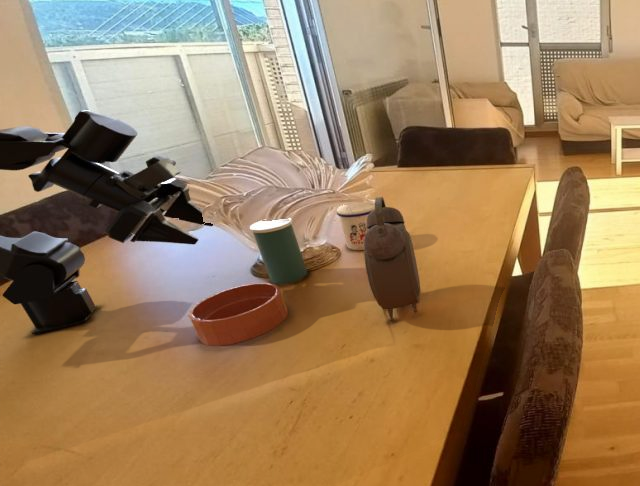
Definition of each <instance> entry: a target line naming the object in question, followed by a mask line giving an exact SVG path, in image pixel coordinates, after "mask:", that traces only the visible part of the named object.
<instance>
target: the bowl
mask: <svg viewBox="0 0 640 486" xmlns="http://www.w3.org/2000/svg"><path fill="white" fill-rule="evenodd" d="M288 310H289V309H288V307H287V305H286V302H285V299H284V296H283V293H282V290H281V287H279V286H278V284H273V283H271V282H254V283H246V284H242V285H237V286H233V287H230V288H228V289H224V290H222V291H219V292H216V293H214V294H212V295H209V296H207V297H205V298H204V299H202V300H200V301H198V302H197V303H195V304H194V306H193V307H192V308H190V310H189V312H188V315H187V316H188V318H189V320H190V321H189V322H190V324H191V325H192V327H193V329H194V332H195V334H196V336H197V338H198V340H199V342H200V343H201V344H203V345H207V346H209V347H222V346H229V345H234V344H239V343H242V342H245V341H249V340H253V339H254V338H258V337H259V336H262V335H264V334H267V333H268V332H270V331H271V330H273V329H275V328H276V327H277V326H279V325H280V324H281V323H282V322H284V321H285V320H286V318H287V317H288Z"/></svg>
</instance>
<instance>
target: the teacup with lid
mask: <svg viewBox="0 0 640 486" xmlns="http://www.w3.org/2000/svg"><path fill="white" fill-rule="evenodd" d="M367 199H368V202H367V203H363V204H358V205H344V204H342V205H343V206H342V205H339V207H337V209H336V215H337V216H338V218H339V222H340V226H341V229H342V233H343V236H344V241H345V243H346V247H347V248H348V249H350V250H353V251H364V249H365V247H364V237H365V234H366V233H367V230H368V229H367V216H368V214H369V213H370V212H371V211H373V210H374V209H375V199H369V198H367Z"/></svg>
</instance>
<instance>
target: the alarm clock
mask: <svg viewBox="0 0 640 486" xmlns="http://www.w3.org/2000/svg"><path fill="white" fill-rule="evenodd" d="M374 200H375V209H374V210H373V211H371V212H370V213H369V214H368V216H367V229H368V230H367V233H366V234H365V237H364V247H365V249H364V250H363V252H364V253H363V255H364V264H365V270H366V275H367V281H368V284H369V288H370V291H371V293H372V295H373V298H374V299H375V301H376V303H377V305H378V306H379V307H381V309H382V310H383V311H384V310H385V311H387V315H388V316H389V322H391V323H393V322H394V321H395V319H394V309H402V308H406V307H409V306H411V307H412V309H413V313H415V314H416V313H418V312H419V310H418V309H417V304H418V303H420V294H421V282H420V275H419V270H418V264H417V259H416V253H415V249H414V245H413V242H412V237H411V234H410V232H409V231H408V230H407V228H406V225H405V219H404V216H403V214H402V213H401V211H400V210H399V209H397V208H395V207H392V206H386V203H385V198H384V197H383V196H378V197H375V199H374Z"/></svg>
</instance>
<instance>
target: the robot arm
mask: <svg viewBox="0 0 640 486" xmlns="http://www.w3.org/2000/svg"><path fill="white" fill-rule="evenodd" d="M137 136H138V131H137V130H136V129H135V128H133V127H132V126H131V125H130V124H128V123H125V122H124V121H122V120H120V119H115V118H113V117H110V116H107V115H104V114H99V113H95V112H94V111H91V110H89V109H84V110H80V111H78V113H77V114H76V115H75V117H74V120H73V122H72V124H71V125H70V126H69V127H68V129H67V130H66V131H65V132H44V131H42V130H41V129H40V128H36V127H33V126H17V127H11V128H9V127H8V128H2V129H0V171H14V172H15V171H23V170H26V169H28V168H31V167H34V166H37V165H40V164H42V163H44V162H47V161H48V162H47V163H46V164H45V165H44V167H43V168H42V170H41V171H36V172H33V173H30V174H28V175H27V177H28V178H29V179H30V181H31V184H32V188H33V191H34V192H37V193H39V192H40V193H41V192H42V191H44V190H47V189H49V188H52V187H53V186H54V185H55V186H57V187H60V188H62V189H64V190H66V191H69V192H70V193H74V194H76V195H78V196H80V197H81V198H82V197H83V198H85V199H86V200H89V201H90V202H89V204H88V206H90V207H92V208H95V209H98V208H99V207H102V206H103V207H105V208H107V209H109V210H111V211H114V212H116V213H117V214H116V215H115V216H114V217H113V219H112V220H111V221H110V223H109V224H108V226H107V227H106V228H105V232H106V234H107V237H108V238H110V239H112V240H114V241H117V242H119V243H121V244H124V243H125V242H127V241H128V240H129V239H130V240H129V241H130V242H132V243H135V242H149V243H150V242H151V243H152V242H153V243H167V244H169V243H170V244H181V245H196V244H197V243H198V242H199V238H197V237H196V236H195V235H193V234H191V233H189V232H188V231H186V230H184V229H183V228H181V227H179V226H177V225H175V224H173V223H172V222H171V221H168V220H167V219H166V218H168V219H169V218H170V219H173V218H179V221H182V222H183V221H184V222H187V223H192V224H196V225H201V226H207V227H213V226H214V225H213V224H211V223H205V222H203V217H202V212H203V211H204V210H203V209H201V208H200V206H198V205H197V204H196V203H194V202H193V200H192V199H191V196H190V188H189V187H187V186H188V183H187V182H185V181H183V180H181V179H179V178H177V177H176V176H177V175H180V174H181V173H182V171H181V170H180V169H178V168H177V166H176V164H177V162H176V161H175V160H174V159H173V160H172V159H170V158H169V157H167V156H166V157H163V156H161V155H154V156H153V157H151V158H149V159H147V160H146V161H145V164H146V167H145V168H144V169H142V170H140V171H138V172H136V173H134V172H132V171H130V170H122V171H120V172H118V171H115V170H113V169H112V168H110V167H107V166H105V165H103V164H106V163H117V162H118V161H119V159H120V158H121V157H122V156H123V154H124V152H126V150H127V149H128V147H129V146H130V145H131V144H132V142H133V141H134V139H135V138H136V137H137ZM64 150H66V151H65V152H64V153H63V154H62V156H61V157H55V158H54V156H55V155H56V153H58V152H61V151H64ZM175 177H176V178H175ZM204 223H205V224H204ZM202 224H204V225H202ZM68 241H69V239H68V238H59V237H55V236H51V235H48V234H46V233H43V232H39V231H32V232H30V233H29V234H26V235H24V236H23V237H20V238H19V237H6V236H3V235H0V276H2V277H4V279H7V280H10V281H11V283H10V284H9V286H8V287H7V288H6V289H5V290H4V292H3V293H2V297H3V298H4V299H6V300H7V301H8V302H10V303H11V304H13V305H21V307H22V308H23V311H25V314H26V315H27V317H28V318H29V320H30V321H31V323H32V324H33V327H34V328H33V329H32V330H31V331H30V333H31V334H32V335H37V334H38V335H39V334H42V333H46V332H51V331H55V330H59V329H63V328H68V327H71V326H75V325H81V324H83V323H86V322H87V321H88V320H89V318H90V317H91V316H92V314H93V313H94V312H95V310H96V309H97V307H98V306H97V304H95V303H94V301H93V299H92V297H91V295H90V293H89V292H88V289H87V288H85V287H83V288H82V287H81V285H80V283H79V281H78V280H76V279H77V278H79V277H80V272H81V271H80V269H81V268H82V267H83V266H84V264H85V262H86V257H85V254H84V252H83V251H82V250H81V248H80V247H79V246H77V245H76V244H73V243H71V242H68Z"/></svg>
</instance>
